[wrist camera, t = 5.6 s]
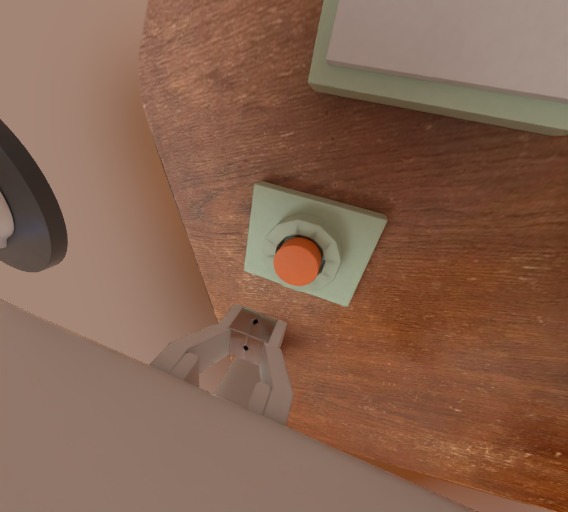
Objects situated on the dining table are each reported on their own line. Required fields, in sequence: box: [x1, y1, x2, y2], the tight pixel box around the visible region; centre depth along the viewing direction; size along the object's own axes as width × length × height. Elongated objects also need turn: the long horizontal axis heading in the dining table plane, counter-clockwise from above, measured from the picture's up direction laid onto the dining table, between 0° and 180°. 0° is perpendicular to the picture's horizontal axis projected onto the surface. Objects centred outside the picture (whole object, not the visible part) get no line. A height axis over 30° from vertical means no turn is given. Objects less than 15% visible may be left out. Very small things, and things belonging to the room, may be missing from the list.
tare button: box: [273, 237, 322, 286], centre depth 17 cm, size 4×4×2 cm
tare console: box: [244, 181, 387, 307], centre depth 19 cm, size 11×9×4 cm
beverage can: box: [214, 356, 261, 408], centre depth 24 cm, size 5×5×12 cm
